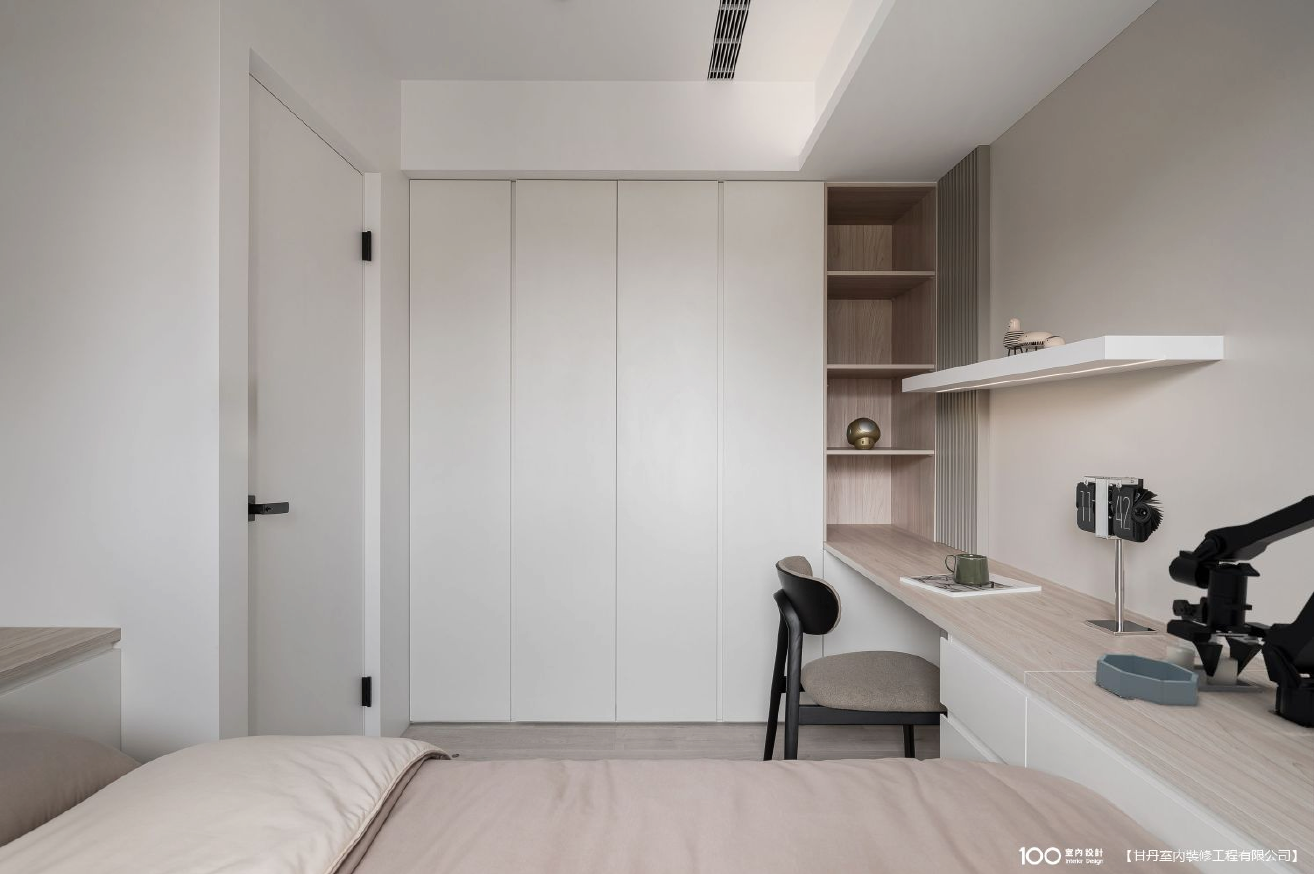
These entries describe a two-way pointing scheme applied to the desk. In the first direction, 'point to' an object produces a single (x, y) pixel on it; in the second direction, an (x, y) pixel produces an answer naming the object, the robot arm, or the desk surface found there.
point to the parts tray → (1240, 685)
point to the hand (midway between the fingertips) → (1221, 676)
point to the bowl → (1147, 679)
